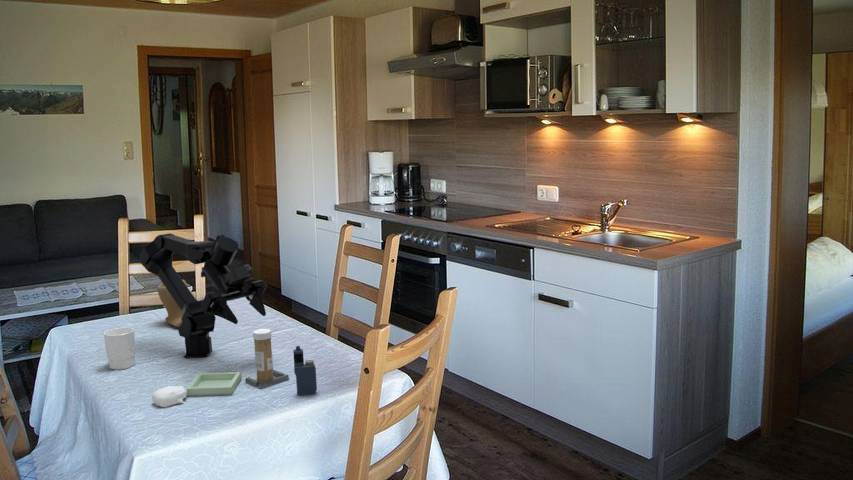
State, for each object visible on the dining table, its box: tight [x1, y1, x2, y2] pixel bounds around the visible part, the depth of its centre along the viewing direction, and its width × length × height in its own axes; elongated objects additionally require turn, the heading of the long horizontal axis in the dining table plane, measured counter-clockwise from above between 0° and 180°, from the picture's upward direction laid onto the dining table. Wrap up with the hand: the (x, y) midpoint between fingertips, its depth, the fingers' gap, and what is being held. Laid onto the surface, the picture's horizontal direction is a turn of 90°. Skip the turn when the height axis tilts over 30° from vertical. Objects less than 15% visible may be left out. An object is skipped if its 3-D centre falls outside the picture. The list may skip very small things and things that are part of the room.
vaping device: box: [292, 345, 318, 396], centre depth 181 cm, size 3×5×12 cm, turn 95°
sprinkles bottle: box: [252, 328, 275, 383], centre depth 191 cm, size 5×5×14 cm
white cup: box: [103, 327, 136, 370], centre depth 206 cm, size 8×8×10 cm
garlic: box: [151, 385, 187, 408], centre depth 179 cm, size 8×7×4 cm
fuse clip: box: [245, 369, 290, 390], centre depth 191 cm, size 7×9×1 cm
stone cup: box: [156, 279, 189, 328], centre depth 246 cm, size 15×12×15 cm
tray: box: [185, 371, 242, 397], centre depth 188 cm, size 11×11×2 cm
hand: (251, 318), depth 197 cm, fingers open, 9 cm apart
